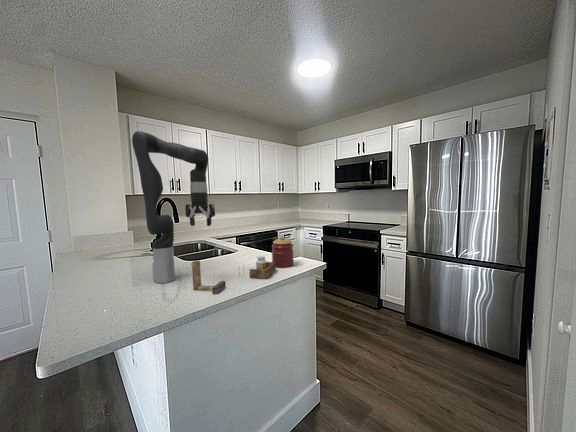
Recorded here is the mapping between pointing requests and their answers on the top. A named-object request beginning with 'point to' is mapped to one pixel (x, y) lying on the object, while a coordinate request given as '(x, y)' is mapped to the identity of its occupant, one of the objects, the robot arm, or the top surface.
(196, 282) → the wooden l-shaped bracket
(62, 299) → the top surface
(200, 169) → the robot arm
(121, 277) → the top surface
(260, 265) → the supplement bottle
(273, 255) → the canister
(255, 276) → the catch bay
